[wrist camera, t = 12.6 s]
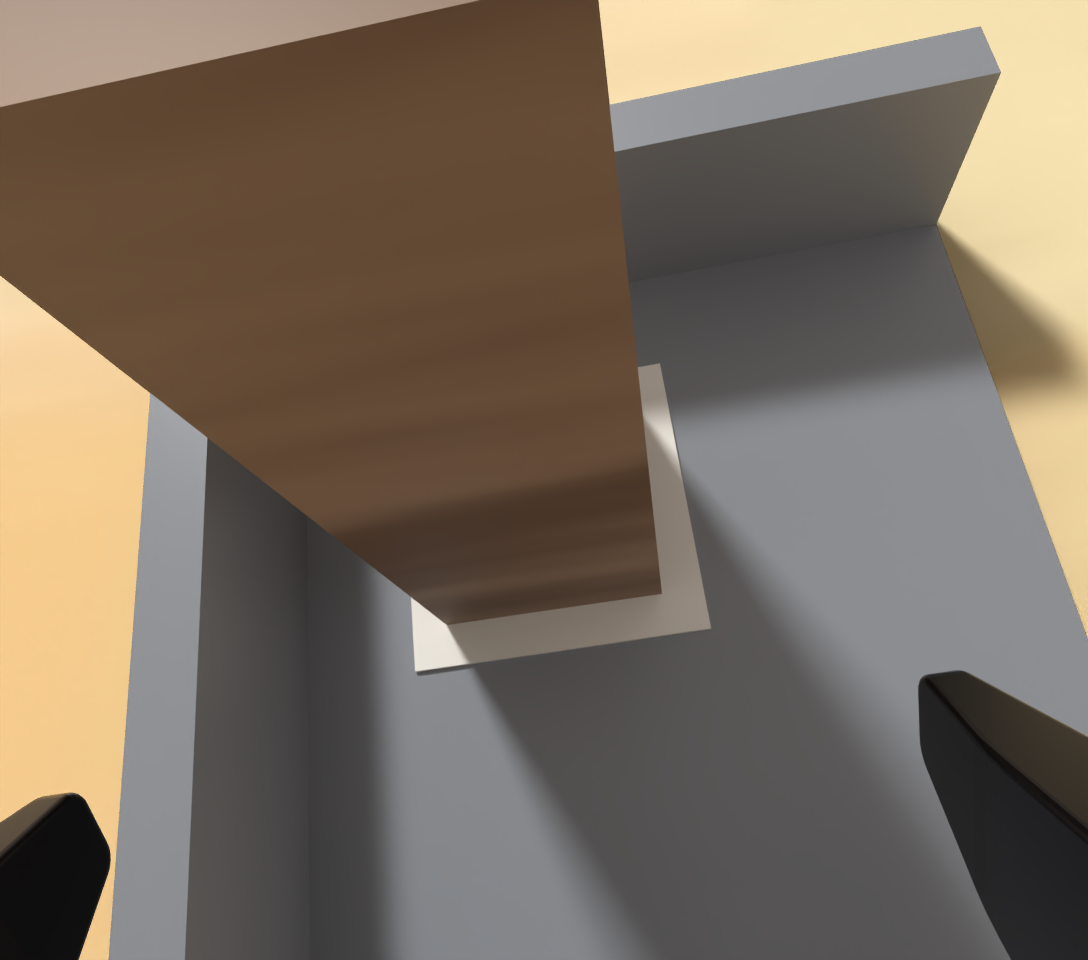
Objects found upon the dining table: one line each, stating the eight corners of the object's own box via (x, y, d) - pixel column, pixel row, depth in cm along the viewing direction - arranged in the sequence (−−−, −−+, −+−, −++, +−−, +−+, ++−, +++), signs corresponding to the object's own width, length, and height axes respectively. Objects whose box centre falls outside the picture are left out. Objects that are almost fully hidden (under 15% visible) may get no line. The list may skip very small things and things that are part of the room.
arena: (1279, 1218, 13) (1604, 1441, 8) (260, 1291, 15) (68, 1508, 10) (915, 201, 21) (980, 26, 16) (271, 324, 22) (164, 198, 18)
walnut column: (662, 593, 17) (595, -27, 5) (446, 625, 18) (-167, 144, 5) (629, 398, 19) (514, -448, 6) (433, 431, 20) (-44, -293, 7)
